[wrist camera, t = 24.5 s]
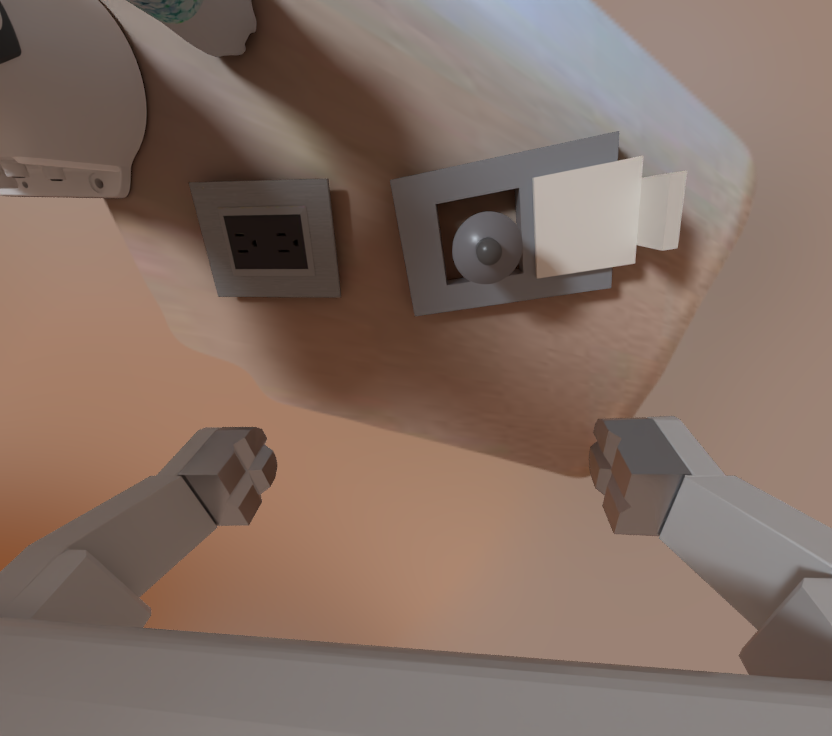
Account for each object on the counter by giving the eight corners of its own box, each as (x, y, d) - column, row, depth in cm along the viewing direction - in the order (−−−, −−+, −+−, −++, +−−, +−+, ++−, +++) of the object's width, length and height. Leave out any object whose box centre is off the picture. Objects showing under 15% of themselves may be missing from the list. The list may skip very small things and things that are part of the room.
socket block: (417, 309, 36) (414, 316, 34) (394, 181, 31) (389, 180, 29) (600, 282, 33) (611, 287, 31) (606, 136, 29) (619, 131, 26)
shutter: (535, 277, 31) (548, 288, 27) (532, 178, 28) (545, 173, 24) (644, 260, 30) (675, 269, 26) (653, 153, 27) (690, 144, 22)
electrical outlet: (334, 180, 32) (325, 178, 30) (346, 292, 37) (339, 298, 35) (203, 184, 34) (186, 182, 32) (230, 292, 38) (216, 297, 36)
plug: (456, 267, 34) (457, 294, 24) (449, 215, 32) (447, 220, 22) (506, 259, 33) (529, 283, 23) (502, 205, 31) (525, 205, 21)
